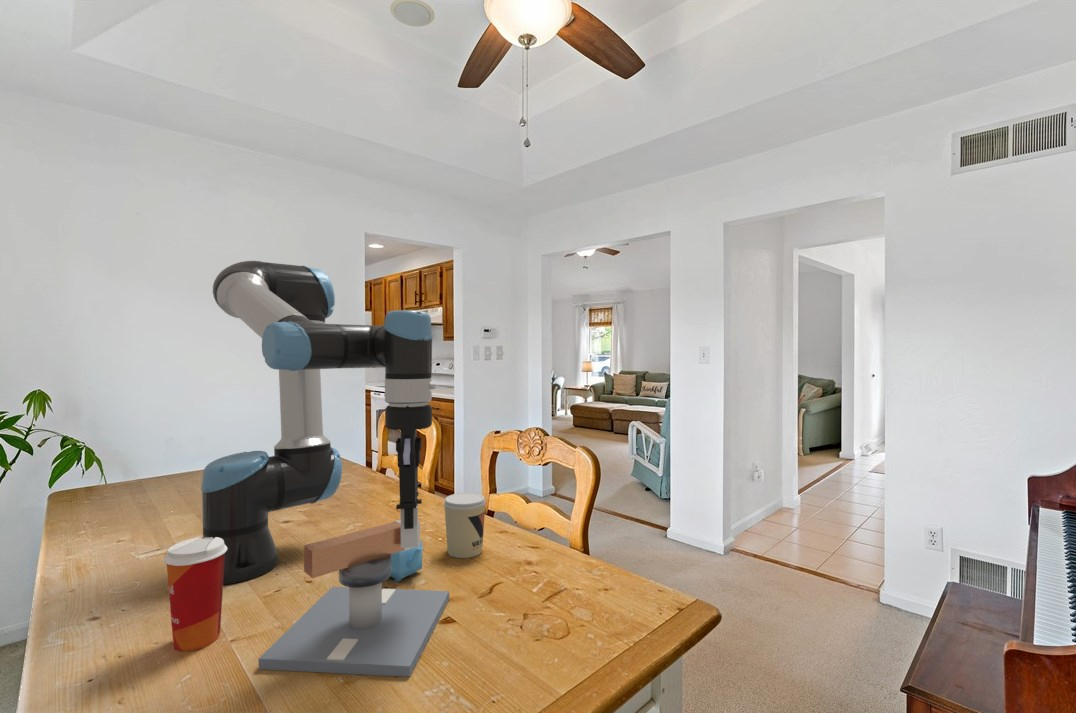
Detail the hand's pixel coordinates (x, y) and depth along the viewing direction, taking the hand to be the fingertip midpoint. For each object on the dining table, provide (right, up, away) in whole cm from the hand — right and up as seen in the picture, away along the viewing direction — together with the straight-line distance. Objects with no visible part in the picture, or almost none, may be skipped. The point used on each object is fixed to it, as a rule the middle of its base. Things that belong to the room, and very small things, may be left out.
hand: (409, 545), depth 85 cm
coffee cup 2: (+5, -13, +30) cm, 33 cm away
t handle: (-6, -4, -2) cm, 8 cm away
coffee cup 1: (-32, -13, -5) cm, 35 cm away
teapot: (-6, -13, +18) cm, 23 cm away
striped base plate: (-7, -13, -2) cm, 15 cm away
